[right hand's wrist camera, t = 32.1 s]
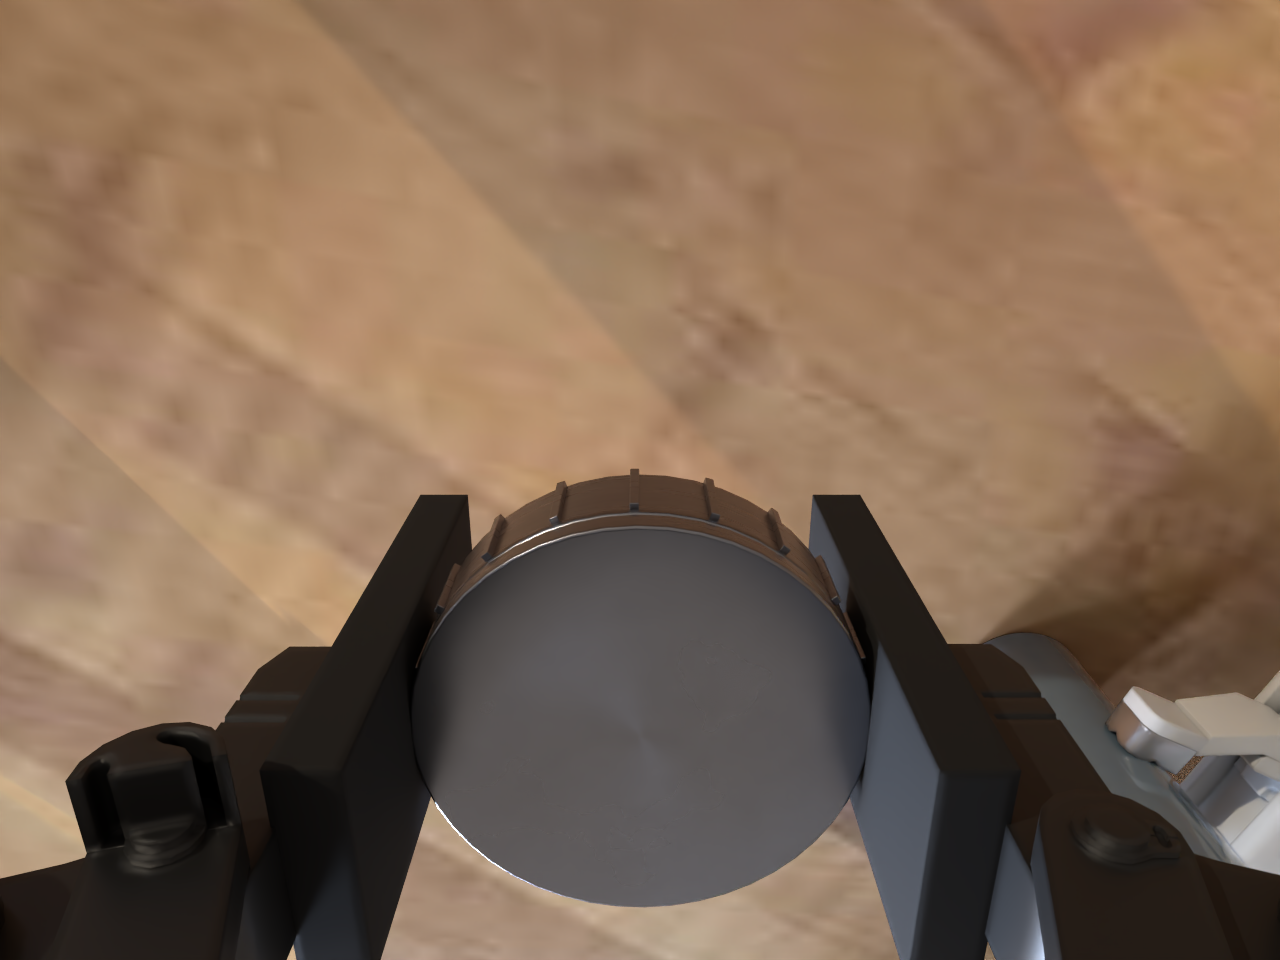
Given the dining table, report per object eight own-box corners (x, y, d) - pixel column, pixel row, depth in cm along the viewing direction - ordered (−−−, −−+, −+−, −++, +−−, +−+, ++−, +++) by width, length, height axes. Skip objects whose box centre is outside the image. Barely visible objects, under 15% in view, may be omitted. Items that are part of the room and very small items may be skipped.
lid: (591, 377, 11) (583, 419, 9) (937, 621, 12) (979, 692, 11) (356, 695, 12) (316, 774, 11) (680, 880, 14) (685, 973, 12)
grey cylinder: (1107, 675, 33) (1554, 1203, 17) (1013, 762, 35) (1342, 1321, 19) (1013, 608, 32) (1396, 1104, 16) (920, 700, 34) (1185, 1239, 18)
